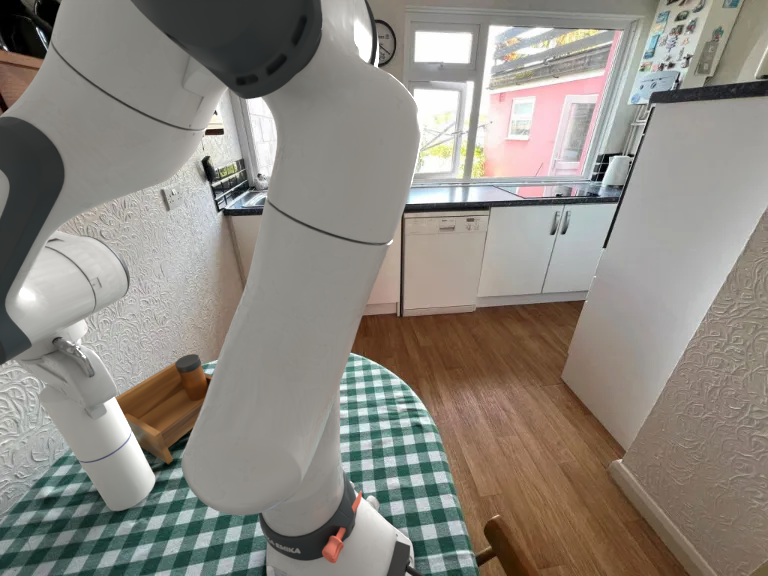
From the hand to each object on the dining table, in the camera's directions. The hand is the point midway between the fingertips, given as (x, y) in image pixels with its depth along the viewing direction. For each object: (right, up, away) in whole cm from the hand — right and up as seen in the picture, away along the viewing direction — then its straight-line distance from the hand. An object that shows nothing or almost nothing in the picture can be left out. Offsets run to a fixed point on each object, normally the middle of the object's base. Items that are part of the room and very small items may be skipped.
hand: (84, 405), depth 48 cm
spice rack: (+2, -12, +22) cm, 25 cm away
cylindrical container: (0, -19, +9) cm, 21 cm away
